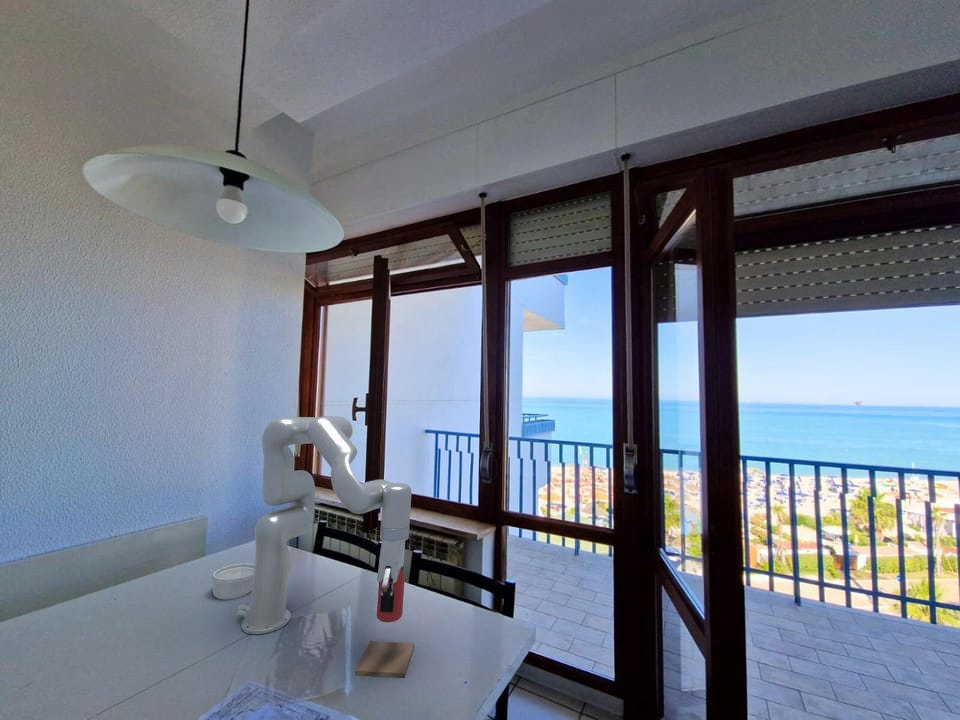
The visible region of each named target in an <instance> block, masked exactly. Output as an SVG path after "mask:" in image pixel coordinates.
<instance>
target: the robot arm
mask: <svg viewBox="0 0 960 720" xmlns="http://www.w3.org/2000/svg"><path fill="white" fill-rule="evenodd" d="M352 435H353V425H352V423H351V422H350V421H349V420H348V419H347V418H346V417H343V416H319V417H318V416H317V417H315V416H313V417H309V416H308V417H306V416H302V417H301V416H288V417H287V416H286V417H280V418H276V419H274V420H273V421H271V422H270V423H268V424H267V426H265V429H264V430H263V434H262V436H261V437H262V438H261V447H262V453H263V469H262V471H263V472H262V473H263V474H262V499H263V503H265V505H267V506H269V507H279V506H282V505H288V504H289V506H288V507H283V508H280V509H276V510H275V509H274V510H272V511H269V512H267V513H265V514H264V515H262V516H261V517H260V518H259V519H258V520H257V522H256V524H255V526H254V540H255V557H254V559H255V560H254V565H255V567H254V576H253V585H252V590H251V594H250V595H251V596H250V603H249V604H248V605H247V604H240V605H238V607H237V611H236V616H238V617H244V619H243V620H242V622H241V630H242V631H243V632H244V633H247V634H251V635H262V634H263V635H264V634H268V633H272V632H275V631H277V630H279V629H282V628H283V627H285V626H286V625H287V624H288V623H289V622H290V620H291V616H292V615H291V611H289V610H288V609H287V600H288V599H287V598H288V588H289V581H290V571H291V570H290V569H291V558H292V557H291V555H292V554H291V552H290V549H289V547H288V543H287V541H290V540H292V539H294V538H297V537H300V536H303V535H305V534H306V533H308V532H309V531H310V530H311V529H312V526H313V525H314V520H315V502H316V501H315V499H316V498H315V497H316V485H315V480H314V477H313V476H312V474H311V473H309V472H308V471H307V470H303V469H301V470H295V456H294V454H293V451H292V449H291V448H290V446H292V445H293V446H294V445H306V444H307V445H308V444H313V446H314V448H315V449H316V450H317V451H318V452H319V454H320V455H321V456H322V458H323V459H324V460H325V461H326V463H327V464H328V465H329V467H330V468H331V469H330V481H331V487H332V490H333V492H334V494H335V495H336V497H337V499H339V501H340V502H341V503H342V505H343V506H344V507H345V508H346V509H347V510H348V511H349V512H351V513H352V514H356V515H362V514H365V513H368V512H371V511H374V510H377V509H381V517H380V518H381V520H380V532H379V533H380V534H379V539H380V541H381V546H380V552H379V553H380V554H379V562H378V569H377V570H378V572H377V578H376V580H377V581H376V582H377V583H378V584H379V583H380V582H382V580H383V584H382V592H381V605H380V611H381V612H393V607H394V594H393V590H394V583H395V582H397V580H398V576H399V573H400V570H401V569H402V566H403V567H404V563H405V550H406V548H405V545H406V541H407V540H408V539H410V520H411V504H412V487H411V486H410V485H409V484H407V483H401V482H397V483H396V482H391V481H389V480H385V479H374V480H369V481H366V482H362V483H361V482H360V480H359V479H358V478H357V477H356V476H355V475H354V473H353V472H352V469H351V465H350V464H352V462H353V461H354V460H355V459H356V457H357V455H358V449H357V446H355V445H354V444H353V442H352V441H351V440H350V438H351V437H352ZM383 577H384V579H383ZM390 578H392V579H393V581H389V579H390ZM389 584H391V589H390V587H389Z"/></svg>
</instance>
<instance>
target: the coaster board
mask: <svg viewBox="0 0 960 720" xmlns="http://www.w3.org/2000/svg"><path fill="white" fill-rule="evenodd" d="M414 646H415V643H413V642H398V641H397V642H395V641H381V640H380V641H375V640H370V641H369V643H368V645H367V647H366V648H365V650H364V652H363V655H362V656H361V658H360V661H359V663H358V664H357V667H356V668H355V670H354V676H361V677H362V676H363V677H364V676H365V677H382V678H401V679H405V677H406V674H407V671H408V667H409V665H410V661H411V658H412V654H413V651H414V648H415V647H414Z"/></svg>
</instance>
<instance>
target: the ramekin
mask: <svg viewBox="0 0 960 720" xmlns="http://www.w3.org/2000/svg"><path fill="white" fill-rule="evenodd" d="M254 567H255V563H254V564H253V563H247V562H245V563H236V564H230V565H226V566H222V567H221V568H219V569H217V570H215V571H214V572H213V573H212V592H213V594H212V595H213V596H214V597H215V598H216V599H218V600H224V601H225V600H226V601H227V600H233V599H234V600H235V599H239V598H241V597H245V596H246V595H248V594H249V593H251V592H252V585H253V576H254Z"/></svg>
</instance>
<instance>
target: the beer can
mask: <svg viewBox="0 0 960 720" xmlns="http://www.w3.org/2000/svg"><path fill="white" fill-rule="evenodd" d="M405 578H406V576H405V571H404V565H403V566H402V569H401V570H400V573H399V576H398V580H397V582H395V583H394V590H393V594H394V607H393V612H381V611H380V605H381V592H382V584H383V580H382V582H380V583H378V587H377V589H378V590H377V605H376V606H377V607H376V618H377V619H378V621H380V622H382V623H393V622H397V621H399V620H400V618H402V616H403V614H404V613H403V612H404V610H403V608H404V595H405V593H404V592H405ZM383 579H384V577H383ZM389 581H393V579H392V578H390V579H389ZM389 587H390V589H391V584H389Z"/></svg>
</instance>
